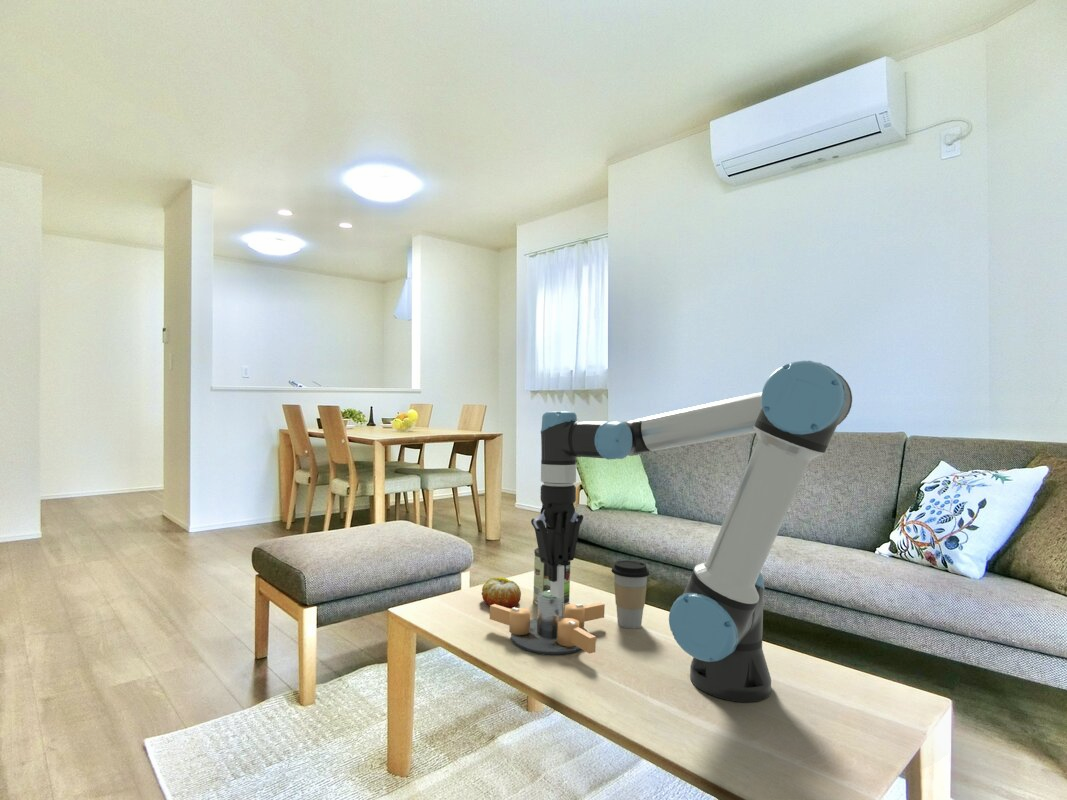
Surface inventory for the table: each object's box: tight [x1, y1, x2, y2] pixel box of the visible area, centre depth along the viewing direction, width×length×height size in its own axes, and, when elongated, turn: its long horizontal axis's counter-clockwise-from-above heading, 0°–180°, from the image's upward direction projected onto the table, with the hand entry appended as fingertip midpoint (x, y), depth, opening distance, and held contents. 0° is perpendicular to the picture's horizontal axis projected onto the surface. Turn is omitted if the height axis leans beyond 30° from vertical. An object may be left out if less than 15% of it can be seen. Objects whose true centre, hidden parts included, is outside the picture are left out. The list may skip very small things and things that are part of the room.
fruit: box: [481, 576, 522, 609], centre depth 155 cm, size 11×10×8 cm
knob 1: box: [489, 604, 532, 635], centre depth 132 cm, size 11×5×5 cm, turn 53°
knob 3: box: [557, 617, 597, 654], centre depth 122 cm, size 11×5×5 cm, turn 33°
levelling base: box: [510, 590, 589, 657], centre depth 131 cm, size 18×18×11 cm
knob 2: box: [563, 601, 606, 629], centre depth 136 cm, size 11×5×5 cm, turn 123°
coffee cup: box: [611, 559, 650, 629], centre depth 142 cm, size 9×9×15 cm
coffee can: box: [532, 547, 572, 607], centre depth 157 cm, size 10×10×14 cm
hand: (557, 595), depth 119 cm, fingers closed
